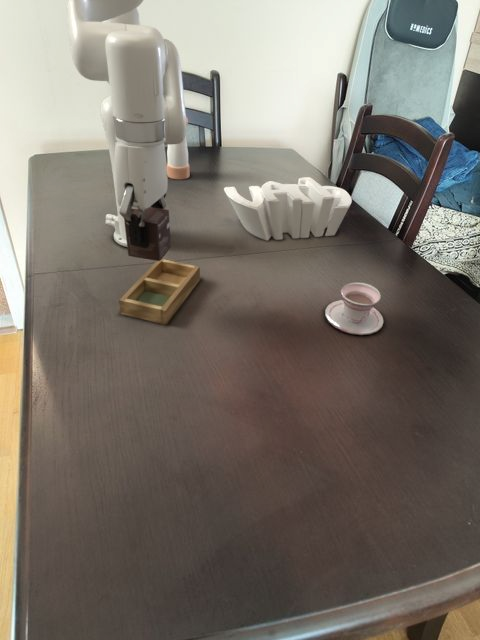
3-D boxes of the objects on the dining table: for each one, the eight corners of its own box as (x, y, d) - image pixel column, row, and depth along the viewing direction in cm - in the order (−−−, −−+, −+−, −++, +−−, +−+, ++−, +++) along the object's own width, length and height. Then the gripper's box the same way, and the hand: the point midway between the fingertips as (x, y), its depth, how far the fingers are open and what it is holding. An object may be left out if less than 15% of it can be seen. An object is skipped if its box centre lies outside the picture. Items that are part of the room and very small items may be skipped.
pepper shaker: (188, 180, 146) (186, 114, 134) (165, 178, 146) (161, 112, 134) (191, 172, 152) (190, 109, 140) (169, 170, 152) (166, 106, 140)
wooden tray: (121, 314, 89) (119, 300, 86) (160, 271, 102) (159, 258, 100) (166, 324, 87) (165, 310, 85) (199, 279, 101) (199, 266, 99)
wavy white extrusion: (233, 242, 116) (235, 201, 109) (220, 215, 128) (221, 177, 121) (358, 236, 125) (367, 198, 118) (335, 211, 137) (342, 176, 130)
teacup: (370, 343, 88) (377, 317, 84) (314, 320, 92) (319, 295, 88) (391, 315, 96) (399, 290, 92) (339, 295, 100) (344, 270, 96)
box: (159, 262, 81) (156, 223, 76) (127, 256, 81) (122, 217, 77) (171, 247, 85) (169, 209, 81) (141, 242, 86) (137, 204, 81)
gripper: (143, 114, 77) (150, 215, 89) (87, 139, 64) (104, 254, 76) (184, 121, 76) (187, 222, 88) (136, 148, 63) (146, 263, 74)
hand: (148, 236), depth 81 cm, fingers closed on box, 6 cm apart
